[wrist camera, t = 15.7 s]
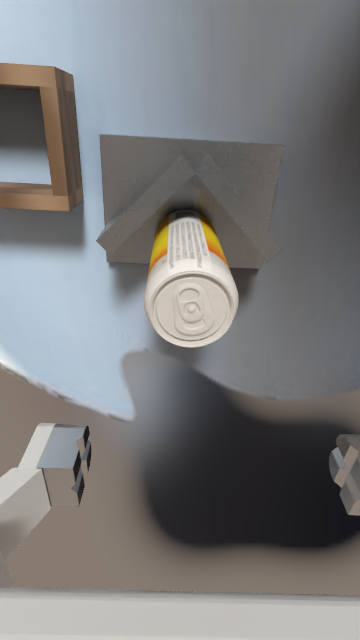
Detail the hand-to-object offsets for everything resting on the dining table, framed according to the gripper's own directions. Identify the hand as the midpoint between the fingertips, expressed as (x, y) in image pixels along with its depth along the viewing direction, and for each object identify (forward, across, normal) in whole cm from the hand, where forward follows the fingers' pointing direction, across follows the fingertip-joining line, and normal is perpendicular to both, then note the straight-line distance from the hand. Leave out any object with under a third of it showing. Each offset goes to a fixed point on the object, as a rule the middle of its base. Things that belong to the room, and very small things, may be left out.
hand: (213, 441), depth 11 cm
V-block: (+27, 0, -2) cm, 27 cm away
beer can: (+26, 0, +1) cm, 26 cm away
